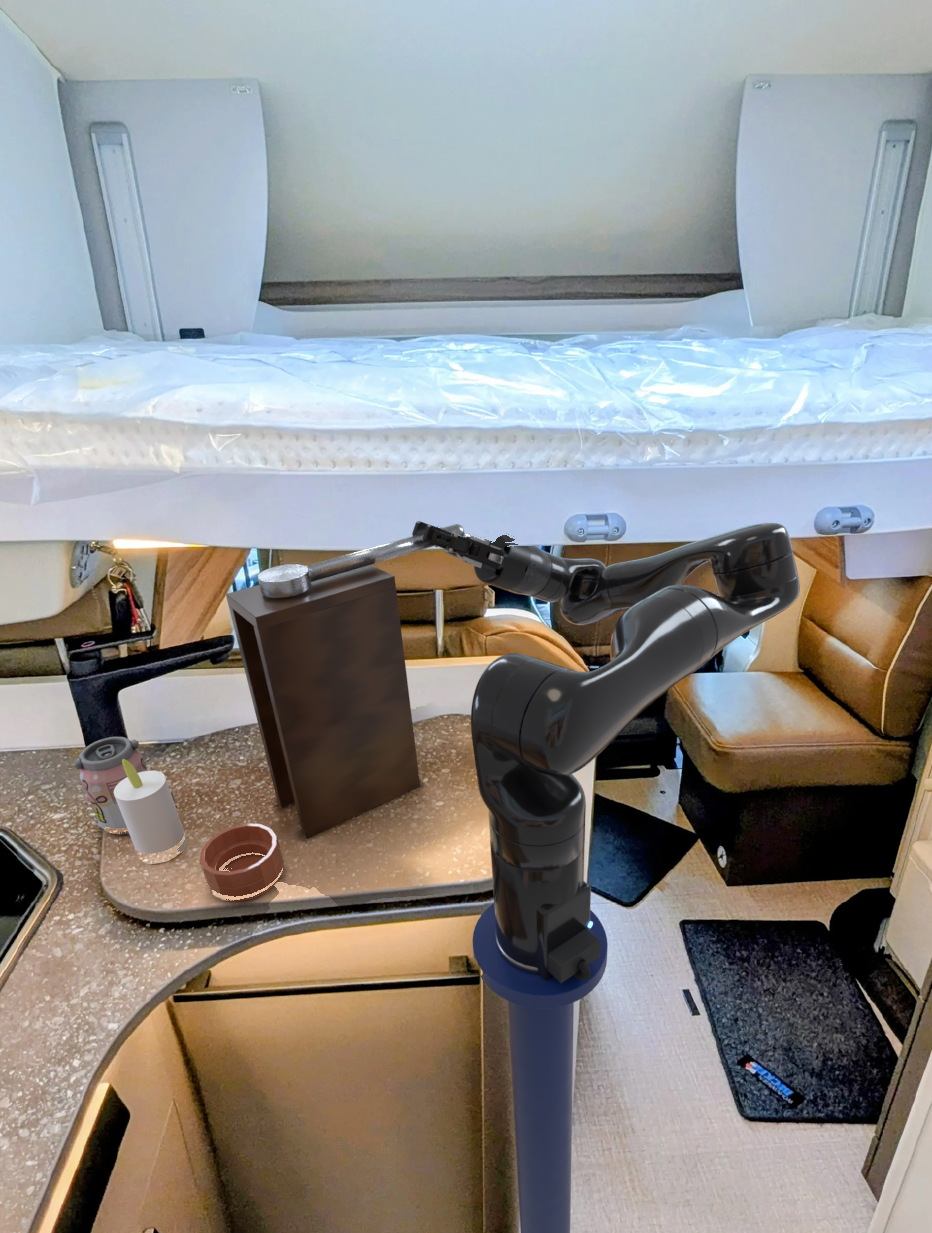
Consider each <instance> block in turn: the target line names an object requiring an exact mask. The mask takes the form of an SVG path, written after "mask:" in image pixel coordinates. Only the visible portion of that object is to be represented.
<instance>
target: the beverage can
mask: <svg viewBox="0 0 932 1233" xmlns="http://www.w3.org/2000/svg"><path fill="white" fill-rule="evenodd" d="M139 745H140V742H139V740H136V739H135V738H134V739H132V740H130V739H129V738H128V737H124V736H109V737H105V738H102V739H98V740H97V741H93V742H92V743H90V744H89V745H87V746H86V747H84V748H83V749H82V750H81V752H80V753H79V755H78V758H77V759H74V762H73V764H72V765H73V767H74V768H76V770H79V779H80V782H81V784H82V786H83V789H84V791H85V794H86V796H87V798H88V801H89V803H90V805H91V809H92V810H93V813H94V815H95V817H96V820H97V822H98V825H99V827H100V828H101V829H102V830H103V829H104V828H105V827H111V828H126V824H125V821H124V819H123V816H122V814H121V811H120V809H119V806H118V804H117V801H116V798H115V796H114V789H115V787H116V786H117V784H118V783H120V782H121V781H122V780H123V779H125V778H127V775H126V772H125V770H124V767H123V764H122V759H126V760H127V761H129V762H130V763H131V765H132V766H133V767H134V768H135V770H136V771H137V773H139V772H143V771H149V770H148V768H147V764H146V762H145V759H144V757H143V754H142V753H141V752H140V750H138V749H139ZM103 831H104V832H105V830H103ZM120 834H121V832H120ZM122 834H127V835H130V834H129V832H128V831H126V833H125V832H122Z"/></svg>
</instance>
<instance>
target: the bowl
mask: <svg viewBox="0 0 932 1233" xmlns="http://www.w3.org/2000/svg"><path fill="white" fill-rule="evenodd" d="M281 850H282V849H281V847H280V843H279V839H278V836H277V834H276V833H275V831H274V830H273V829H272V828H271V827H269V826H266V825H264V824H262V823H252V822H251V823H250V822H248V823H240V824H236V825H232V826H230V827H227V828H225V829H222V830H220V831H218V832H217V833H216V834H214V835H213V836H211V837H210V838H209V839H208V840H207V841H206V843H205V844H204V845H203V847H202V848H201V850H200V854H199V860H198V861H199V864H200V867H201V870H202V873H203V876H204V878H205V882H206V881H207V882H206V884H207V883H208V885H209V887H210V889H211V890H214V891H216V892H217V893H220V894H222V895H228V896H234V897H236V896H243V895H247V894H252V893H254V892H257V891H258V890H261V889H263V888H265V887H266V886H268V885H269V884H270V883H272V882H273V881H274V880H275V879H276V878H277V877H278V875H279V873H280V872H281V870H282V868H283V871H282V873H281V875H280V877H279V878H278V880H277V881H276V882H275V883H274V884H273V885H272V886H270V887H269V888H268V889H267V890H265V891H263V892H261V893H259V894H257V895H255V896H253V897H249V898H244V899H240V900H234V901H233V900H232V901H230V900H229V899H228V900H229V901H228V902H236V903H237V902H242V901H247V900H252V899H255V898H257V897H258V896H261V895H263V894H265V893H267V892H269V890H271V889H272V888H273V887H274V886H275V885H276V884H277V883H278V882H279V880H280V879H281V877H282V875H283V873H284V869H285V868H284V859H283V854H282V851H281ZM252 852H253V853H260V854H263V855H265V856H262V855H255V854H251V855H246V856H241V857H239V858H237V859H235V860H233V861H231V862H230V863H229V864H228V865H226V866H225V868H226V869H227V868H228V869H227V870H229V871H230V872H229V871H219V868H220V867H221V866H222V865H223V864H224V863H225V862H227V861H228V860H229V859H231V858H233V857H235V856H238V855H241V854H246V853H252ZM225 868H224V869H225ZM231 868H232V869H231ZM224 869H223V870H224ZM226 869H225V870H226ZM208 885H207V886H208ZM209 887H208V888H209ZM210 889H209V890H210ZM226 900H227V899H226Z"/></svg>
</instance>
